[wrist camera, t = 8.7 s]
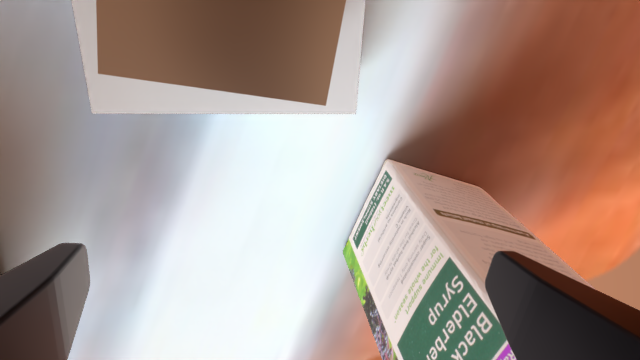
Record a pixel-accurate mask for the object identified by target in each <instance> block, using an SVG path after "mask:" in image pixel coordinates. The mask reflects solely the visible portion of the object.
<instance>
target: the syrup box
mask: <svg viewBox="0 0 640 360" xmlns="http://www.w3.org/2000/svg"><path fill="white" fill-rule="evenodd" d="M498 251H515V252H518V253H520V254H522V255H524V256H526V257H528V258H530V259H532V260H534V261H536V262H539V263H541V264H543V265H545V266H547V267H549V268H551V269H553V270H555V271H557V272H560V273H562V274H564V275H566V276H568V277H570V278H572V279H574V280H576V281H578V282H581V283H583V284H585V285H587V286H589V287H591V288H593V287H592V286H591V285H590V284H589V283H588V282H587V281H586V280H584V279H583V278H582V277H581V276H580V275H579V274H577V273H576V272H575V271H574V270H573V269H572V268H571V267H570V266H569V265H567V264H566V263H565V262H564V261H563V260H562V259H561V258H560V257H559V256H557V255H556V254H555V253H554V252H553V251H552V250H551V249H550V248H548V247H547V246H546V245H545V244H544V243H543V242H542V241H540V240H539V239H538V238H537V237H536V236H535V235H534V234H533V233H532V232H531V231H529V230H528V229H527V228H526V227H525V226H524V225H523V224H522V223H520V222H519V221H518V220H517V219H516V218H515V217H514V216H512V215H511V214H510V213H509V212H508V211H507V210H506V209H505V208H503V207H502V206H501V205H500V204H499V203H498V202H497V201H495V200H494V199H493V198H492V197H491V196H490V195H489V194H488V193H487V192H486V191H484V190H483V189H482V188H481V187H479V186H475V185H472V184H469V183H465V182H462V181H459V180H455V179H452V178H449V177H446V176H442V175H439V174H436V173H432V172H429V171H426V170H422V169H419V168H416V167H413V166H409V165H406V164H403V163H399V162H396V161H393V160H389V159H387V160H386V161H385V162H384V164H383V167H382V169H381V172H380V174H379V176H378V178H377V180H376V182H375V185H374V187H373V188H372V190H371V192H370V194H369V196H368V198H367V200H366V202H365V204H364V207H363V209H362V211H361V213H360V215H359V217H358V219H357V222H356V224H355V226H354V228H353V230H352V233H351V235H350V237H349V239H348V241H347V243H346V246H345V248H344V250H343V255H344V257H345V260H346V262H347V265H348V268H349V270H350V273H351V276H352V278H353V282H354V284H355V287H356V290H357V292H358V295H359V298H360V300H361V303H362V305H363V308H364V311H365V313H366V316H367V319H368V321H369V324H370V327H371V330H372V333H373V336H374V338H375V341H376V343H377V346H378V349H379V352H380V355H381V357H382V359H383V360H517V359H516V358H515V356H514V354H513V352H512V350H511V348H510V346H509V343H508V341H507V339H506V337H505V334H504V332H503V330H502V327H501V325H500V322H499V320H498V318H497V315H496V313H495V311H494V308H493V306H492V304H491V301H490V299H489V296H488V294H487V292H486V288H485V279H486V276H487V273H488V270H489V267H490V264H491V261H492V258H493V256H494V254H495V253H496V252H498ZM593 289H594V288H593Z"/></svg>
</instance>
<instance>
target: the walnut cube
mask: <svg viewBox="0 0 640 360" xmlns="http://www.w3.org/2000/svg"><path fill="white" fill-rule="evenodd" d="M345 3H346V0H96V15H97V59H98V74H103V75H111V76H118V77H125V78H132V79H139V80H146V81H153V82H160V83H167V84H174V85H181V86H189V87H196V88H203V89H210V90H217V91H224V92H231V93H238V94H245V95H252V96H259V97H267V98H274V99H281V100H288V101H295V102H302V103H309V104H316V105H323V106H326V102H327V97H328V92H329V87H330V81H331V76H332V71H333V66H334V61H335V55H336V50H337V45H338V40H339V35H340V29H341V24H342V19H343V14H344V9H345Z"/></svg>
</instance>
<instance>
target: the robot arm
mask: <svg viewBox="0 0 640 360" xmlns="http://www.w3.org/2000/svg"><path fill="white" fill-rule="evenodd" d="M89 287H90V274H89V265H88V256H87V249H86V247H85V245H84V244H81V243H61V244H58V245H56V246H55V247H53V248H51V249H49V250H47V251H45V252H43V253H42V254H40V255H38V256H36V257H34V258H32V259H30V260H29V261H27V262H25V263H23V264H21V265H19V266H17V267H15V268H14V269H12V270H10V271H8V272H6V273H4V274H2V275H1V276H0V360H67V359H68V356H69V353H70V350H71V346H72V343H73V340H74V337H75V334H76V330H77V327H78V324H79V321H80V317H81V314H82V311H83V308H84V304H85V301H86V298H87V295H88V291H89ZM485 288H486V292H487V294H488V296H489V299H490V301H491V304H492V306H493V308H494V311H495V313H496V315H497V318H498V320H499V322H500V325H501V327H502V330H503V332H504V334H505V337H506V339H507V341H508V343H509V346H510V348H511V350H512V352H513V354H514V356H515V358H516V359H517V360H640V311H639V310H637V309H635V308H633V307H631V306H629V305H627V304H625V303H622V302H620V301H618V300H616V299H614V298H612V297H610V296H608V295H606V294H604V293H602V292H600V291H597V290H595V289H593V288H591V287H589V286H587V285H585V284H583V283H581V282H578V281H576V280H574V279H572V278H570V277H568V276H566V275H564V274H562V273H560V272H557V271H555V270H553V269H551V268H549V267H547V266H545V265H543V264H541V263H539V262H536V261H534V260H532V259H530V258H528V257H526V256H524V255H522V254H520V253H518V252H515V251H498V252H496V253H495V254H494V256H493V258H492V261H491V264H490V267H489V270H488V273H487V276H486V279H485Z"/></svg>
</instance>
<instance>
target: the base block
mask: <svg viewBox="0 0 640 360" xmlns="http://www.w3.org/2000/svg"><path fill="white" fill-rule="evenodd" d="M71 1H72V7H73V12H74V18H75V23H76V29H77V34H78V40H79V45H80V51H81V56H82V62H83V67H84V73H85V78H86V84H87V89H88V95H89V100H90V106H91V111H92V114H356V107H357V95H358V83H359V72H360V60H361V48H362V36H363V25H364V13H365V1H366V0H346V3H345V9H344V14H343V19H342V24H341V29H340V35H339V40H338V45H337V50H336V55H335V61H334V66H333V71H332V76H331V81H330V87H329V92H328V97H327V102H326V106H323V105H316V104H309V103H302V102H295V101H288V100H281V99H274V98H267V97H259V96H252V95H245V94H238V93H231V92H224V91H217V90H210V89H203V88H196V87H189V86H181V85H174V84H167V83H160V82H153V81H146V80H139V79H132V78H125V77H118V76H111V75H103V74H98V59H97V15H96V0H71Z"/></svg>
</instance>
